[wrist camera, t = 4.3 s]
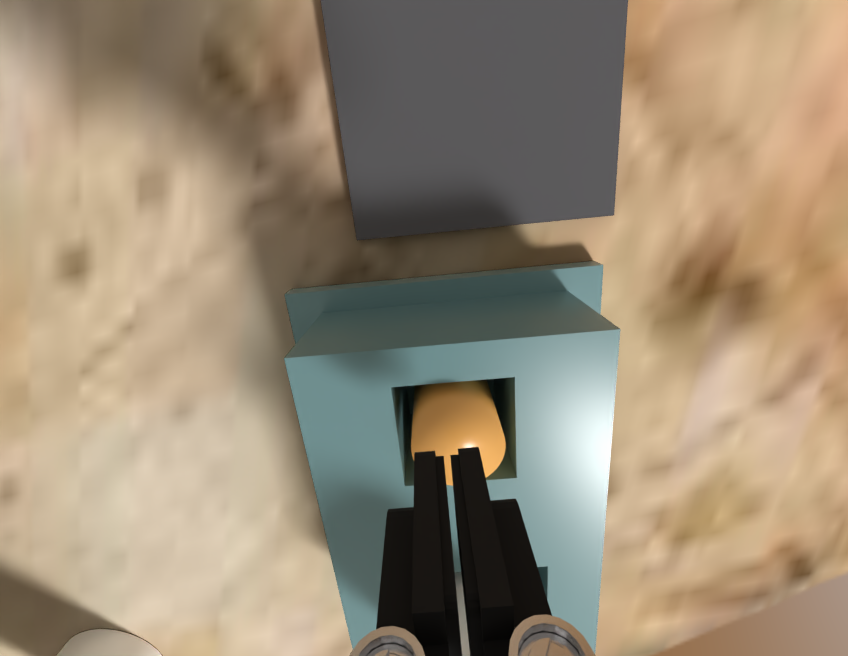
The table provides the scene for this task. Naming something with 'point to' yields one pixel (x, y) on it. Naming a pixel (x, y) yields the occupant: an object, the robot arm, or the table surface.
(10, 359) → the table surface
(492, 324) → the teal hollow block
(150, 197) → the table surface
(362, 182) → the mat
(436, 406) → the orange egg shape
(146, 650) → the cylindrical container
